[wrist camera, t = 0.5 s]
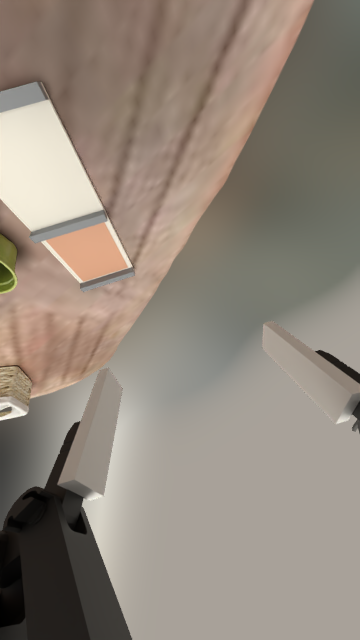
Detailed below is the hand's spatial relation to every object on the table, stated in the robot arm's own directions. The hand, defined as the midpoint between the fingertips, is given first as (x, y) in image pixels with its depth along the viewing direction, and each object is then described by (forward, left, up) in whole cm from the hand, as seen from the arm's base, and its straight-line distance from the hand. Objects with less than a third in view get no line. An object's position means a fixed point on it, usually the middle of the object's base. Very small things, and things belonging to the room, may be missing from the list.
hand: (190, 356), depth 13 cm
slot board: (-7, -12, -33) cm, 36 cm away
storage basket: (+1, -90, -34) cm, 96 cm away
